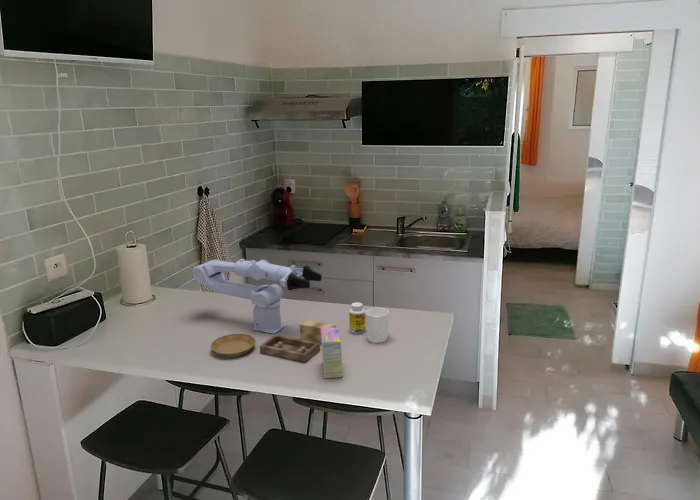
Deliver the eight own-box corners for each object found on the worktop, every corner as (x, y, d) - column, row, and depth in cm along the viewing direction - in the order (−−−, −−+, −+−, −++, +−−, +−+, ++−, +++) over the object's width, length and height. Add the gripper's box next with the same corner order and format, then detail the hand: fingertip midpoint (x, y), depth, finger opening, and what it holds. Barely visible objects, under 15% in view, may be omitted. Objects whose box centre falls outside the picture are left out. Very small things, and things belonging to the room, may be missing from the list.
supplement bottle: (355, 335, 187) (354, 308, 184) (346, 330, 191) (345, 303, 189) (368, 331, 190) (367, 304, 187) (359, 326, 194) (358, 300, 191)
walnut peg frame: (260, 353, 177) (259, 345, 176) (276, 341, 185) (275, 334, 184) (305, 363, 169) (304, 355, 168) (320, 350, 177) (319, 343, 176)
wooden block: (300, 340, 185) (299, 324, 184) (306, 335, 189) (305, 319, 187) (331, 346, 180) (330, 330, 178) (336, 341, 183) (336, 325, 182)
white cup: (392, 336, 186) (391, 309, 183) (384, 345, 179) (383, 317, 176) (371, 332, 189) (370, 306, 186) (362, 341, 182) (361, 314, 180)
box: (322, 362, 169) (320, 328, 166) (340, 361, 170) (338, 326, 166) (323, 379, 159) (321, 342, 156) (342, 377, 160) (341, 341, 156)
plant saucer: (265, 345, 183) (264, 338, 182) (236, 364, 170) (235, 357, 170) (231, 337, 190) (230, 330, 189) (201, 355, 177) (201, 347, 177)
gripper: (268, 269, 179) (303, 276, 173) (292, 257, 192) (326, 263, 186) (269, 289, 181) (303, 296, 175) (293, 276, 194) (325, 283, 188)
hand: (315, 281), depth 181 cm, fingers open, 7 cm apart
